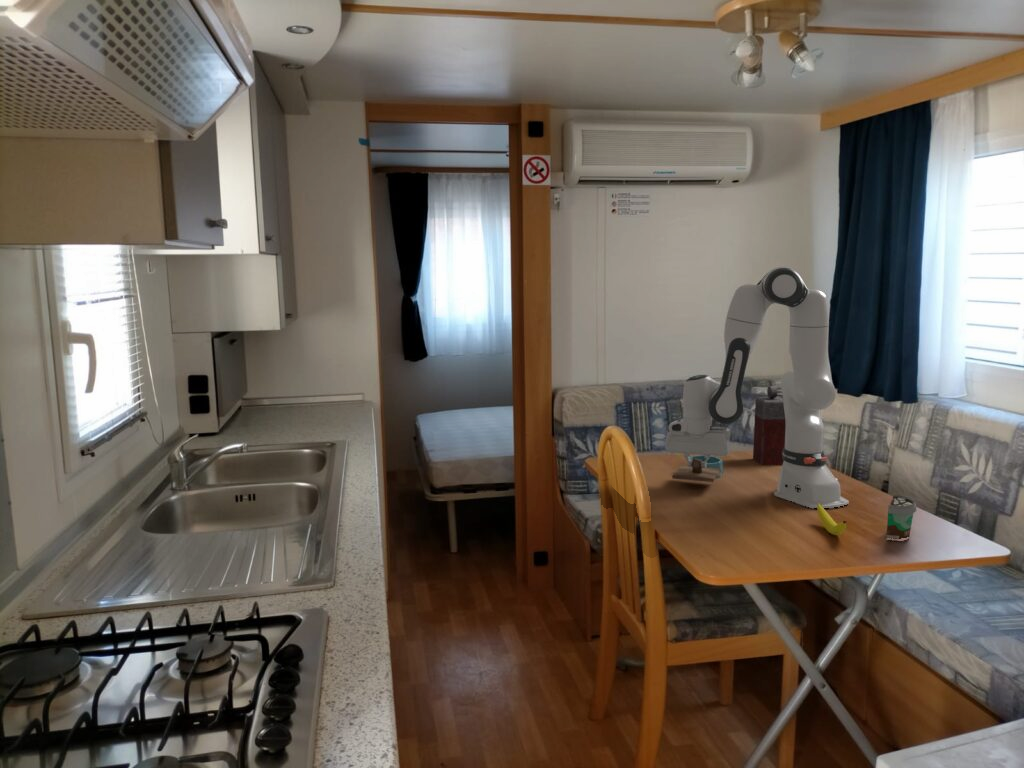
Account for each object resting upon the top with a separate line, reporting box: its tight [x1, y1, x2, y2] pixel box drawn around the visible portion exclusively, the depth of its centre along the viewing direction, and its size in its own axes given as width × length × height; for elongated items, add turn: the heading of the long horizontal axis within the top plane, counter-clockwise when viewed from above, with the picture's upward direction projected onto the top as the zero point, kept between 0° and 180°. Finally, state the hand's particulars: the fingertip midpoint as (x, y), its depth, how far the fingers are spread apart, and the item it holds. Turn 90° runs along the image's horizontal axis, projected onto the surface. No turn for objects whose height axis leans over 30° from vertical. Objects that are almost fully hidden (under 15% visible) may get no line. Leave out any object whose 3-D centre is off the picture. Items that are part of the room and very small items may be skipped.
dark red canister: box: [752, 385, 786, 466], centre depth 272 cm, size 9×11×28 cm
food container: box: [885, 493, 917, 539], centre depth 199 cm, size 12×6×10 cm, turn 148°
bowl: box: [686, 454, 724, 478], centre depth 259 cm, size 11×11×5 cm
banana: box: [817, 503, 847, 536], centre depth 203 cm, size 3×19×6 cm, turn 178°
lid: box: [671, 459, 721, 483], centre depth 245 cm, size 13×13×5 cm
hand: (697, 466), depth 244 cm, fingers closed on lid, 3 cm apart
